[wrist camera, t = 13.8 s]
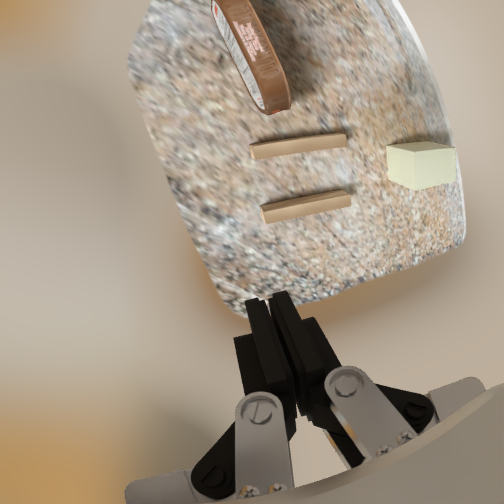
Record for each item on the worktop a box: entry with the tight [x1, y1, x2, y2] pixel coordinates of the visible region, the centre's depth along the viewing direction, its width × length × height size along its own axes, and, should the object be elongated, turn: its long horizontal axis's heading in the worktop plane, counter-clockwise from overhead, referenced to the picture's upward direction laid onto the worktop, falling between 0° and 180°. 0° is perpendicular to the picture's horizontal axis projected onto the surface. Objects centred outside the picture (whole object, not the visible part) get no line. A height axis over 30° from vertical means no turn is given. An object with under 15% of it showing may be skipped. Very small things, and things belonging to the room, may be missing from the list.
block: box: [386, 141, 456, 191], centre depth 31 cm, size 5×9×6 cm, turn 103°
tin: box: [211, 0, 291, 115], centre depth 21 cm, size 15×3×8 cm, turn 23°
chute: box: [249, 133, 351, 224], centre depth 31 cm, size 9×11×2 cm
